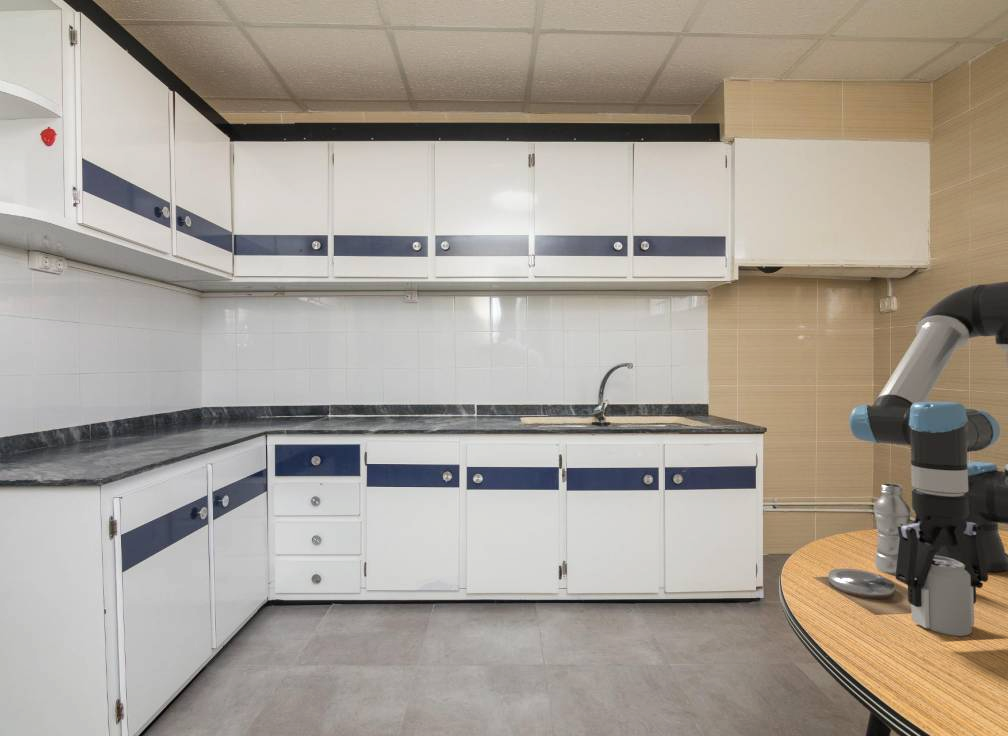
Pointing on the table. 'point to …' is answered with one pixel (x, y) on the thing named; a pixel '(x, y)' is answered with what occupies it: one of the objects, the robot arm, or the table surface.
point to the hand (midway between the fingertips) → (942, 622)
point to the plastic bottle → (889, 526)
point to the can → (949, 597)
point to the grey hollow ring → (861, 584)
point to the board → (879, 607)
